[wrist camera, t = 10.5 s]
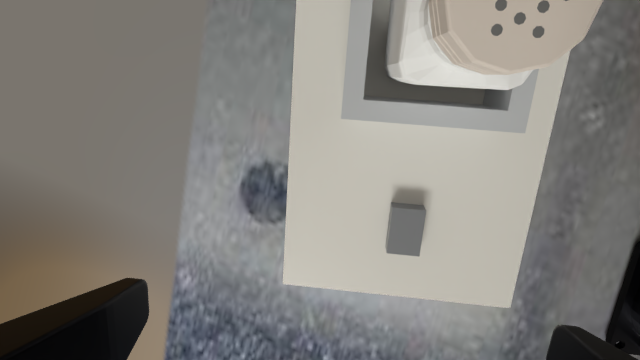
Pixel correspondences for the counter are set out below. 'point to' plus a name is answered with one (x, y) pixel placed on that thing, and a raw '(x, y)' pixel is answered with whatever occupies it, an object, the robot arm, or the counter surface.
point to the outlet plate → (406, 167)
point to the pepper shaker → (481, 39)
